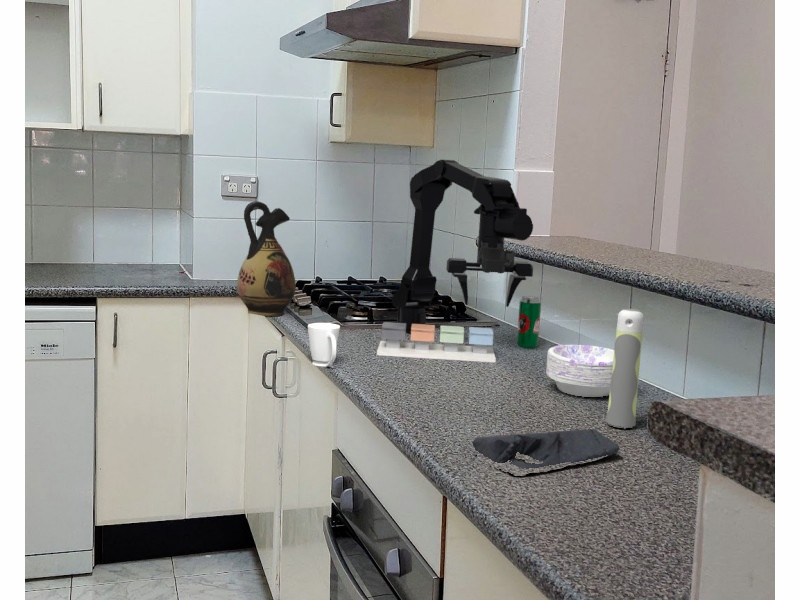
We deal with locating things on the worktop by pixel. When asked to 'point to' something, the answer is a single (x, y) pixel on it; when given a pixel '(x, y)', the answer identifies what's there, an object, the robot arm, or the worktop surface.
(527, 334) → the soda can
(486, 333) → the key blue
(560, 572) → the worktop surface
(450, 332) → the key sage
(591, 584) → the worktop surface
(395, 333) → the key charcoal
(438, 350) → the keypad
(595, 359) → the paper bowls
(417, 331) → the key terracotta
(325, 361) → the cup
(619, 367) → the spray bottle
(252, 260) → the ceramic jug
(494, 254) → the robot arm
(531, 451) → the crumpled dark cloth
